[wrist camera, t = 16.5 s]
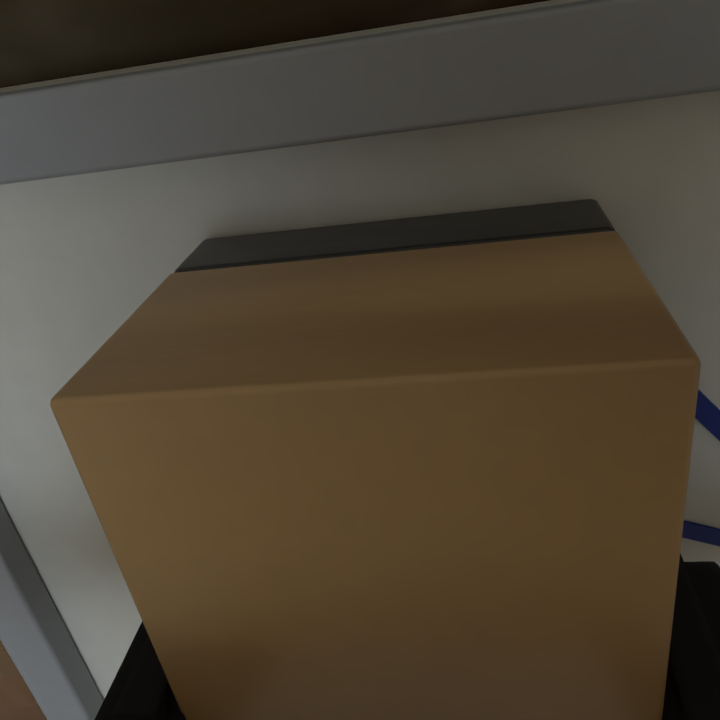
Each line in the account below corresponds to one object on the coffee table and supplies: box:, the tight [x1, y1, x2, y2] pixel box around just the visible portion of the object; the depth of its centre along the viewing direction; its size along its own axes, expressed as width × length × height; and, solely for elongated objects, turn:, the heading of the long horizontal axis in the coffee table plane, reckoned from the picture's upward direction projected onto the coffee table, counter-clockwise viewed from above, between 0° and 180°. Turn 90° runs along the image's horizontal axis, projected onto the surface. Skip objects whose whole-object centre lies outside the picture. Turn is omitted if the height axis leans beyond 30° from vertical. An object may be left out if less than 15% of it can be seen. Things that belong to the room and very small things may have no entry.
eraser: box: [50, 199, 701, 720], centre depth 9 cm, size 11×5×4 cm, turn 8°
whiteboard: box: [0, 0, 720, 720], centre depth 12 cm, size 20×20×2 cm
